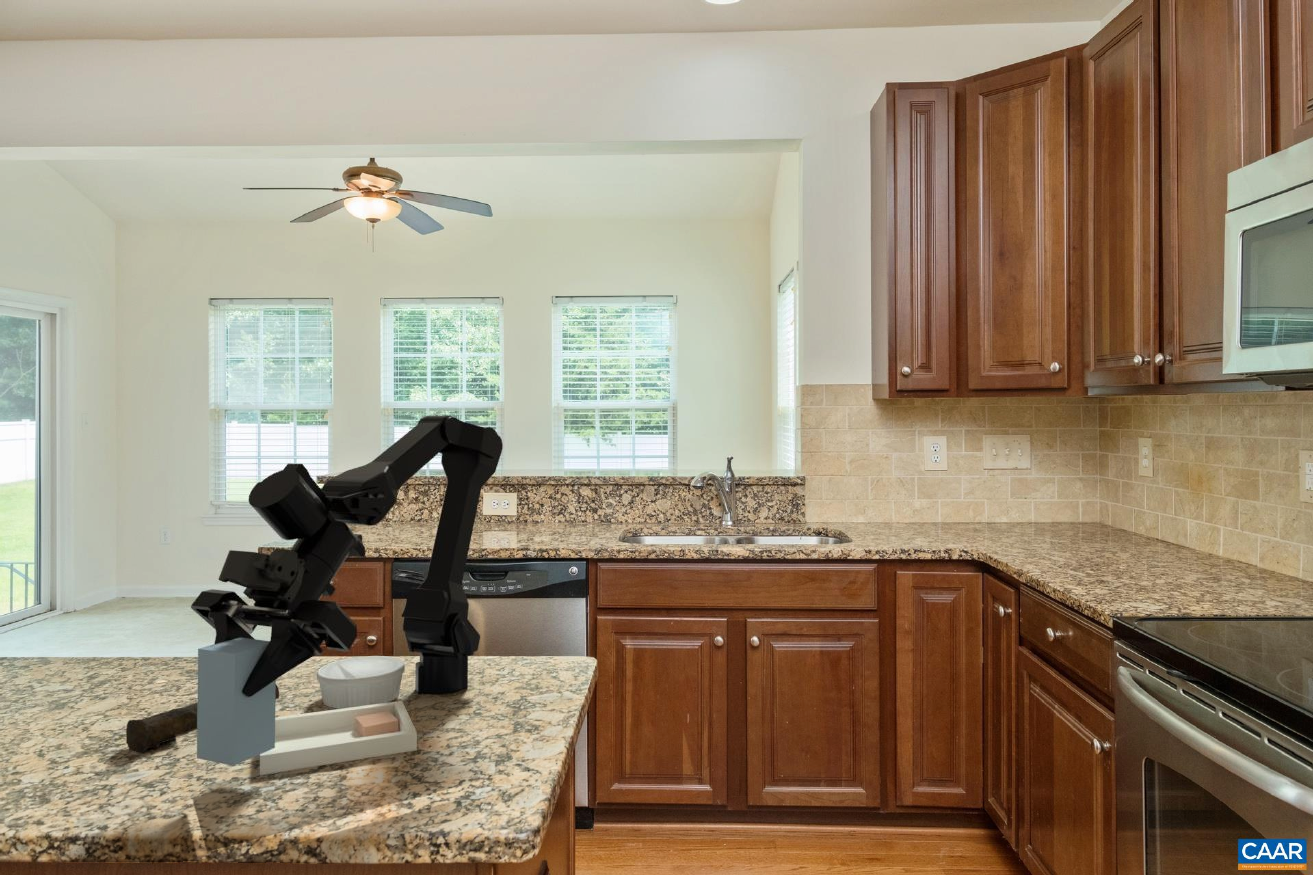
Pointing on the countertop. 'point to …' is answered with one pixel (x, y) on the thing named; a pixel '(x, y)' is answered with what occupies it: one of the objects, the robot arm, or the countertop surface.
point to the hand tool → (162, 727)
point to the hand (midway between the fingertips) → (225, 691)
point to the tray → (334, 738)
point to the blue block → (233, 703)
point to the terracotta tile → (376, 724)
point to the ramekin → (360, 681)
